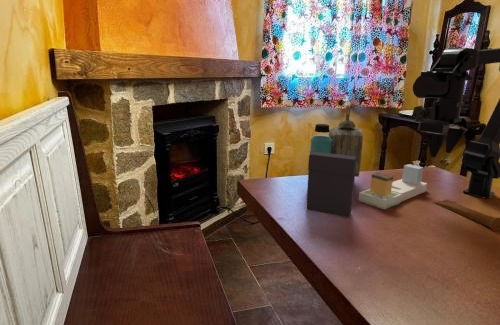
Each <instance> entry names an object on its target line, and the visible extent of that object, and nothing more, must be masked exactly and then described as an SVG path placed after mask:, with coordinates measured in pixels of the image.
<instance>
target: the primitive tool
mask: <svg viewBox="0 0 500 325" xmlns="http://www.w3.org/2000/svg"><path fill="white" fill-rule="evenodd" d="M432 203H433V204H435V205H437V206H439V207H442V208H444V209H447V210H450V211H451V212H454V213H456V214H459V215H460V216H463V217H465V218H467V219H470V220H472V221H475V222H477V223H479V224H482V225H483V226H487V227H489V229H491V231H493V232H500V217H494V216H491V215H487V214H484V213H482V212H480V211H477V210H475V209H471V208H469V207H466V206H463V205H461V204H459V203H458V202H456V201H453V200H449V199H443V200H436V201H433V202H432Z"/></svg>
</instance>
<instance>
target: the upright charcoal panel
mask: <svg viewBox="0 0 500 325" xmlns="http://www.w3.org/2000/svg"><path fill="white" fill-rule="evenodd" d="M309 154H310V153H309ZM356 159H357V158H356V157H355V156H347V155H338V154H330V153H321V152H313V153H311V154H310V155H308V166H307V167H308V168H307V170H308V172H309V174H307V193H306V205H305V206H306V210H308V211H311V212H317V213H322V214H327V215H334V216H338V217H343V218H349V217H350V215H351V214H352V208H353V198H354V188H355V178H356V176H355V169H356Z"/></svg>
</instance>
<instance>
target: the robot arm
mask: <svg viewBox="0 0 500 325" xmlns="http://www.w3.org/2000/svg"><path fill="white" fill-rule="evenodd" d="M497 63H498V64H500V47H498V48H497V47H496V48H488V49H486V48H485V49H477V48H473V47H472V48H471V47H470V48H469V47H464V48H463V47H461V48H447V49H444V50H442V54H441V55H440V56H439V58H438V59H437V61H436V62H435V63H434V65H433V66H432V67H431V69H430V70H421V71H420V75H419V76H418V77H417V78H416V79H415V80H414V83H413V84H412V92H413V94H414V96H415V97H416V98H418V99H437V100H434V101H433V102H432V106H430V107H424V106H423V105H417V106H415V107H413V111H412V114H411V117H412V118H414V120H415V121H414V122H415V123H418V122H419V123H418V127H417V130H418V131H420V133H421V134H423V135H424V136H425V138H427V143H428V149H429V154H430V157H431V158H436V157H437V155H438V153H439V152H440V150H441V148H442V146H443V144H444V143H445V153H446V154H447V153H448V154H451V153H452V151H453V150H454V148H456V146H457V144H458V143H459V141H460V140H461V139H462V138H463V136H464V135H465V134H466V133H467V131H468V130H469V129H470V128H471V126H472V120H471V118H470V117H468V116H460V115H461V111H462V108H461V107H465V104H466V103H465V101H463V98H464V92H465V86H466V81H473V77H472V76H471V75H470V74H469V73H468V71H471V70H474V69H476V68H477V67H479V66H482V65H487V64H488V65H489V64H497ZM498 71H499V72H500V65H499V67H498ZM462 161H463V168H464V171H465V172H469V173H470V177H469V182H468V188H466V189H464V190H463V191H462V193H464V194H468V195H472V196H476V197H480V198H483V199H488V198H490V197H492V196H494V195H495V192H494V191H492V186H493V182H494V179H495V180H496V179H497V180H498V179H500V98H499V99H498V102H497V103H496V105H495V106H494V109H493V111H492V113H491V115H490V117H489V119H488V121H487V123H486V126H485V127H484V130H483V131H482V133H481V135H480V137H479V138H478V139H477V140H475V141H473V140H470V141H469V142H468V144H467V147H466V148H465V150H464V151H463V156H462Z"/></svg>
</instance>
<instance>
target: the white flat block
mask: <svg viewBox="0 0 500 325" xmlns="http://www.w3.org/2000/svg"><path fill="white" fill-rule="evenodd" d="M427 188H428V183H427V182H424V181H421V183H420V184H418V185H414V184H410V183H406V182H402V178H400V179H398V180H394V181H392V189H391V192H394V193H398V194H401V202H404V201H407V200H408V199H411V198H413V197H415V196H418V195H421V194H423V193H426V192H427Z"/></svg>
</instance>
